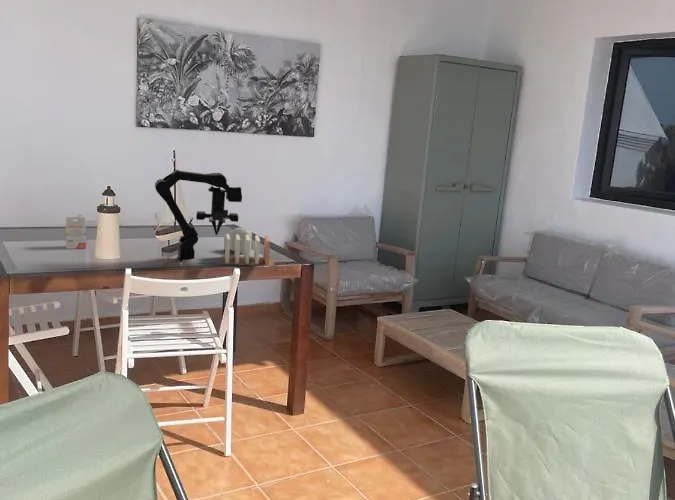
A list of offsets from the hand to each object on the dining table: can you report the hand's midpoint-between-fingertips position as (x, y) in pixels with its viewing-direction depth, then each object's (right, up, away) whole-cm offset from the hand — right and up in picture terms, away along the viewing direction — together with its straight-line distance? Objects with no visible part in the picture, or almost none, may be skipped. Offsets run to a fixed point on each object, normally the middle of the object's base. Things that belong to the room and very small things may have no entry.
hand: (216, 234), depth 314 cm
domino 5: (+22, -12, +6) cm, 26 cm away
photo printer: (+9, -9, +19) cm, 23 cm away
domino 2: (+9, -12, +3) cm, 15 cm away
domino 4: (+17, -12, +5) cm, 22 cm away
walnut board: (+14, -13, +5) cm, 19 cm away
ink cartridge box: (-65, -6, +1) cm, 65 cm away
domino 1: (+4, -11, +3) cm, 12 cm away
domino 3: (+13, -12, +4) cm, 18 cm away
